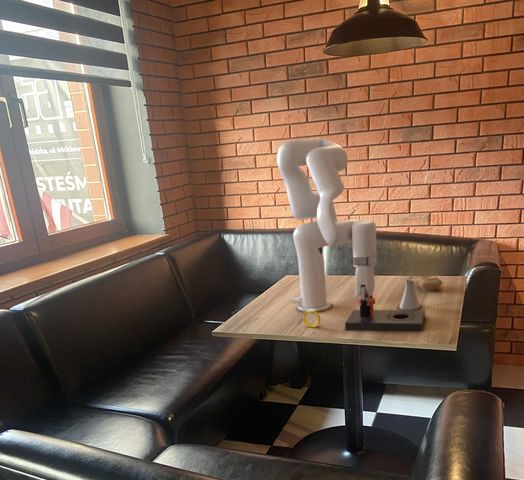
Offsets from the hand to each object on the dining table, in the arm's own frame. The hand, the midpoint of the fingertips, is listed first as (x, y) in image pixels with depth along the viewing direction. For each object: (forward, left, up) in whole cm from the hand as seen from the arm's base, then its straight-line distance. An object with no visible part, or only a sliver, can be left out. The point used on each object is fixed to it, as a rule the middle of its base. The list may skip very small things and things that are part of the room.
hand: (367, 313), depth 178 cm
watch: (-18, -4, -4) cm, 19 cm away
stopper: (0, 0, -1) cm, 1 cm away
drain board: (+6, 0, -3) cm, 7 cm away
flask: (+12, +18, -4) cm, 22 cm away
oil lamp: (+15, +43, -4) cm, 46 cm away
